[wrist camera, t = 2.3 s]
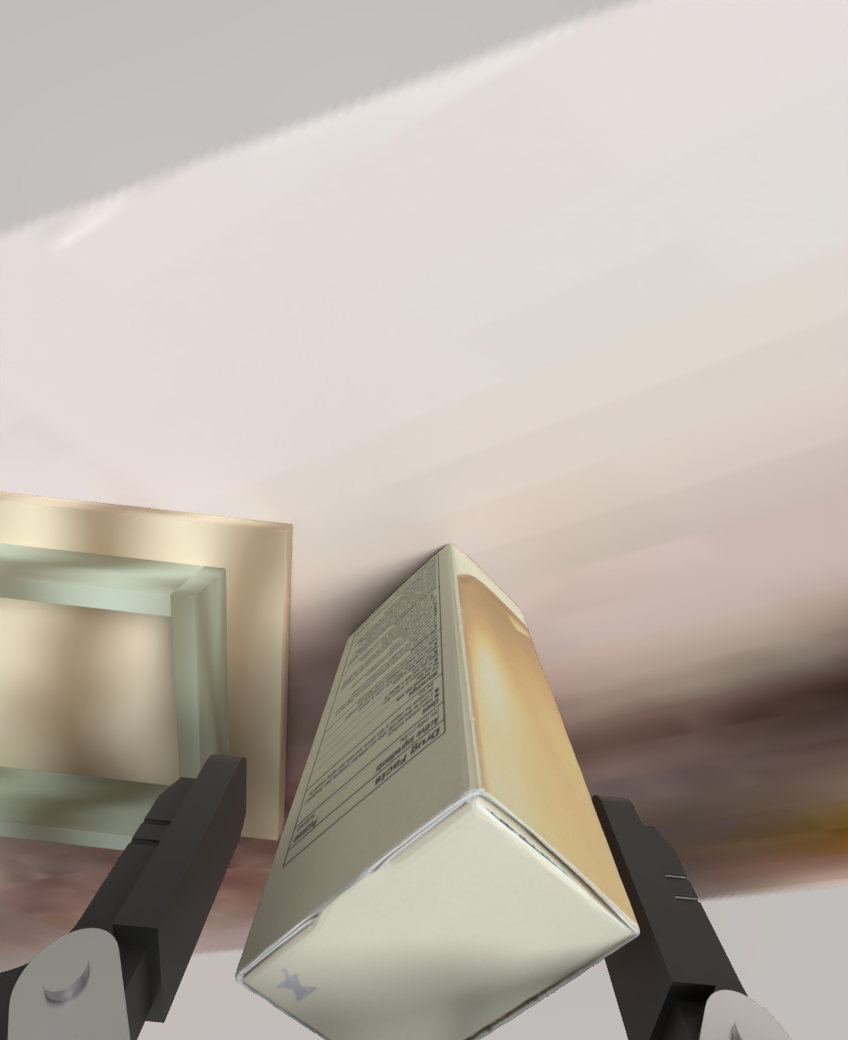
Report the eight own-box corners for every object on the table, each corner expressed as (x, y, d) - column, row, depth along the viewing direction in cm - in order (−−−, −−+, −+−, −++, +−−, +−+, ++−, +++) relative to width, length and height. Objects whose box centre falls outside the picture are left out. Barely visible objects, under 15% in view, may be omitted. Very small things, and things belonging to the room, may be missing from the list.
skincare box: (418, 700, 21) (390, 1105, 10) (344, 635, 20) (213, 991, 9) (530, 606, 20) (660, 949, 8) (455, 533, 19) (477, 795, 7)
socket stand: (292, 524, 19) (260, 557, 16) (284, 821, 23) (257, 896, 20) (-116, 478, 19) (-235, 501, 16) (-47, 783, 23) (-129, 852, 20)
